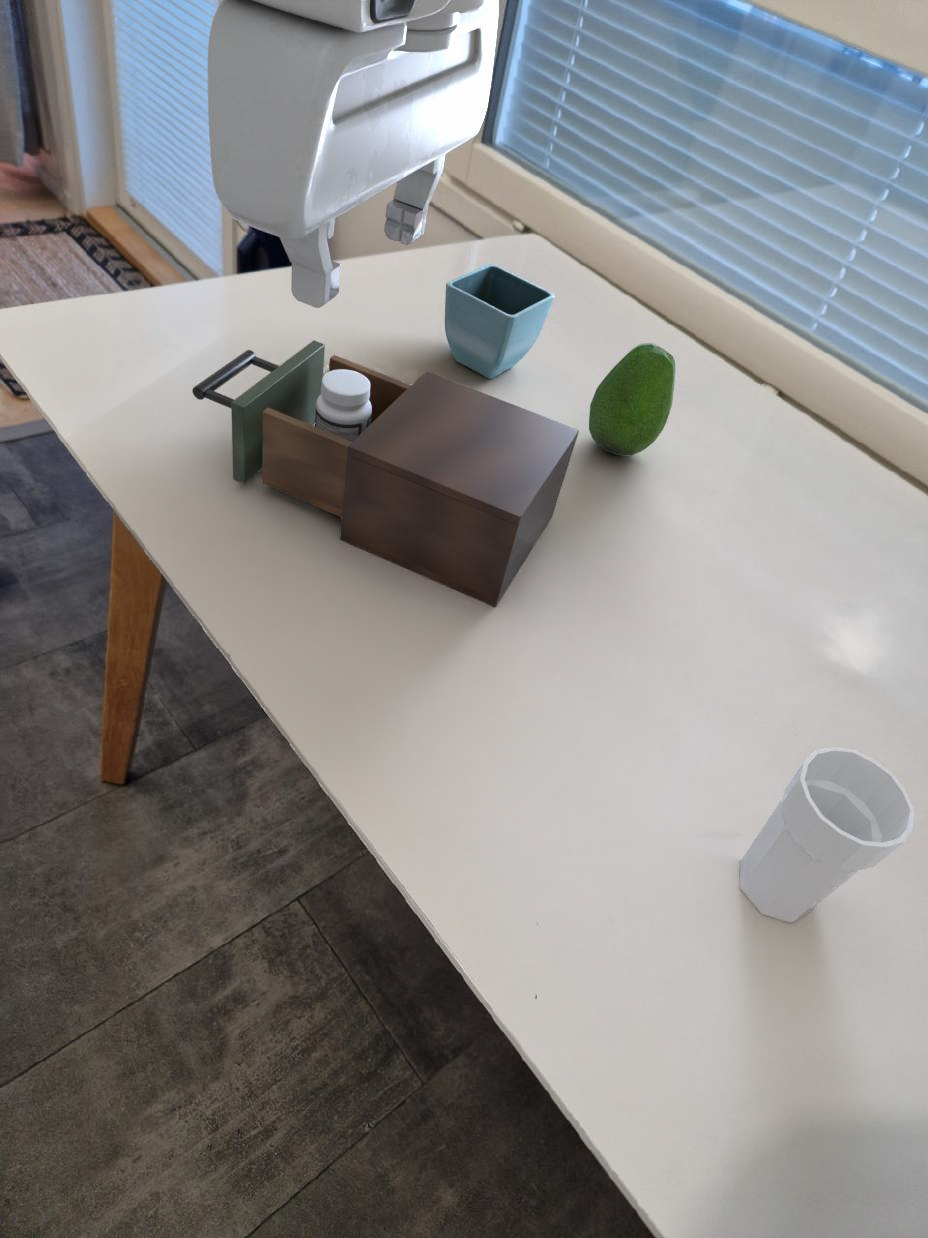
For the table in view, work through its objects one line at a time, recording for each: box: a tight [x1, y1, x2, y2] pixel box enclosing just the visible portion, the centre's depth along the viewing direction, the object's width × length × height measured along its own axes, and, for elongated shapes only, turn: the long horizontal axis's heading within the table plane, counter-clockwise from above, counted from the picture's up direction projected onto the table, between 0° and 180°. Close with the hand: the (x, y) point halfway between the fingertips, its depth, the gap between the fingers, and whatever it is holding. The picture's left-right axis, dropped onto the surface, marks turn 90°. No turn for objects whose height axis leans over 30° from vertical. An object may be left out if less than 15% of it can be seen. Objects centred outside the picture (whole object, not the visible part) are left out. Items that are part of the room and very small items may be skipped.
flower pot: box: [444, 263, 556, 380], centre depth 95 cm, size 9×9×9 cm
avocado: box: [588, 342, 676, 457], centre depth 86 cm, size 8×8×12 cm
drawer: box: [192, 339, 412, 518], centre depth 76 cm, size 19×13×8 cm
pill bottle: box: [314, 369, 372, 442], centre depth 74 cm, size 5×5×8 cm
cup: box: [739, 746, 916, 924], centre depth 53 cm, size 7×7×11 cm
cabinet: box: [339, 370, 580, 608], centre depth 74 cm, size 15×14×10 cm
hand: (362, 266), depth 45 cm, fingers open, 8 cm apart
